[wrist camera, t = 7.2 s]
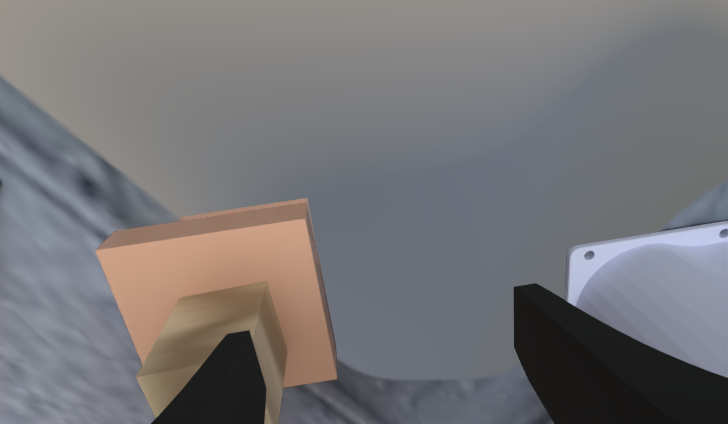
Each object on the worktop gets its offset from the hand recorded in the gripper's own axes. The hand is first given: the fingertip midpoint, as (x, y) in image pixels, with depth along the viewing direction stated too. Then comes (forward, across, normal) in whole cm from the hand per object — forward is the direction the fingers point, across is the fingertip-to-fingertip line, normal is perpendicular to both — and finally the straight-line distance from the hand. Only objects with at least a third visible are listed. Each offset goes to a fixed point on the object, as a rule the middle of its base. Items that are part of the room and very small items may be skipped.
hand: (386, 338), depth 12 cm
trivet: (+10, +7, +4) cm, 13 cm away
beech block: (+8, +7, +4) cm, 11 cm away
